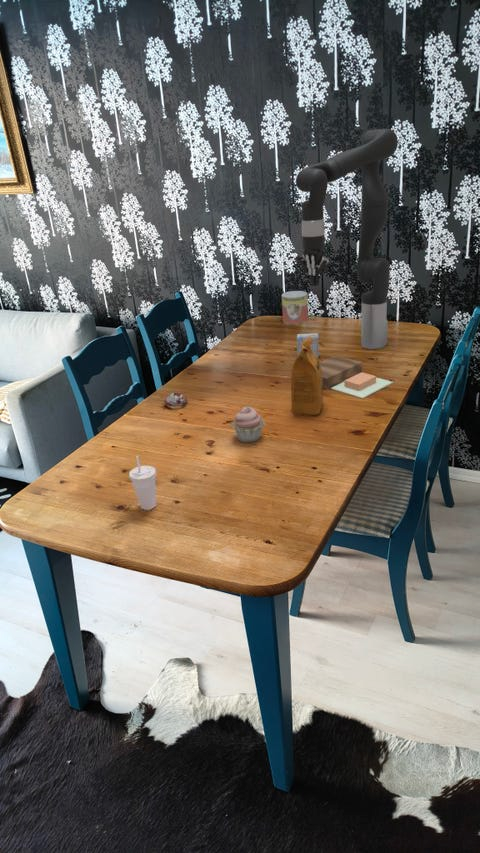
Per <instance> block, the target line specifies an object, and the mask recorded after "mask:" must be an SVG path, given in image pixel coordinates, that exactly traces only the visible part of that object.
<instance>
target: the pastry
mask: <svg viewBox="0 0 480 853" xmlns="http://www.w3.org/2000/svg"><path fill="white" fill-rule="evenodd" d="M164 405H165V407H166V408H167V409H169V410H179V409H183V408H184V407H187V405H188V399H187V398H186V397H185V396H184V395H183V394H182V393H181V392H179V391H176V390H175V391H173V393H171V394H170V395H168V396H166V397H165V399H164Z"/></svg>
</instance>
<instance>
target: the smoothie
mask: <svg viewBox="0 0 480 853" xmlns="http://www.w3.org/2000/svg"><path fill="white" fill-rule="evenodd" d="M135 458H136V459H135V460H136V464H137V466H136V467H134V468H132V469H131V470H130V471H129V473H128V474H129V475H128V476H129V480H130V481H131V483H132V486H133V488H134V492H135V496H136V498H137V500H138V503H139V506H140V509H141V508H142V509H145V510H147V509H152V508H154V507H155V506H156V507H157V490H156V487H157V486H156V476H157V471H156V470H157V469H156V468H155V467H154V466H151V465H141V464H140V463H141V462H140V459H139V455H136V456H135ZM156 507H155V508H156ZM155 508H154V509H155ZM142 509H141V510H142ZM145 510H144V511H145ZM152 510H153V509H152Z"/></svg>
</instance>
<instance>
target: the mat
mask: <svg viewBox="0 0 480 853" xmlns="http://www.w3.org/2000/svg"><path fill="white" fill-rule="evenodd" d="M393 382H394V381H392V380H391V381H390V380H387V379H384V378H379V377H377V376H376V383H374V384H372V385H370V386H368V387H366V388H364V389H362V390H360V391H357V390H354V389H351V388H347V387H345V386H344V382H342V383H340V384H338V385H336V386H334V387H332V388H330V390H333V391H336V392H339V393H342V394H346V395H349V396H352V397H355V398H358V399H361V400H362V399H366V398H367V397H369V396H371V395H373V394H374V393H377V392H379V391H380V390H382V389H384V388H387V387H388V386H391V385H392V384H393Z"/></svg>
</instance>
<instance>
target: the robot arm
mask: <svg viewBox="0 0 480 853" xmlns="http://www.w3.org/2000/svg"><path fill="white" fill-rule="evenodd" d="M398 140H399V139H398V136H397V133H396V132H395V131H394V130H392V129H389V128H378V129H369V130H367V131H365V133H364V134H363V136H362V137H361V143H360V146H358V147H355V148H351V149H348V150H344V151H342V152H339V153H338V154H335V155H333V156H331V157H329V158H326V159H325V160H324V161H321V162H319V163H315V164H313V165H308V166H307V167H304V168H303V169H301V170H300V171H299V172H298V173H297V175H296V177H295V185H296V187H297V189H298V190H299V191H301V192H304V193H309V195H308V199H307V200H305V201H303V202H302V203H301V245H302V246H301V247H302V249H303V251H302V255H301V256H298V258H297V260H298V261H299V263H300V265H301V267H302V268H303V270H304V272H305V273H308V275H309V284H310V286H311V287H318V286H319V284H320V274H321V275H322V274H323V273H324V272H325V271H326V269H327V268H328V266H329V264H330V263H331V259H330V258H327V257H326V255H325V254H326V253H325V251H324V249H325V247H326V242H325V241H326V240H325V239H326V235H325V234H326V233H325V232H326V231H325V228H326V227H325V221H324V204H325V200H326V195H327V190H328V183H332V182H335V181H338V180H339V179H341V178H343V177H345V176H347V175H348V174H350V173H351V172H354V171H356V170H358V169H360V168H361V204H360V233H359V234H360V236H359V247H358V249H359V250H358V255H357V265H356V277H357V279H358V281H359V282H360V283H361V282H362V283H365V284H373V285H372V289H371V290H370V291H366V292H364V293H362V294H361V307H360V308H361V311H360V313H361V326H360V327H361V333H360V334H361V337H360V338H361V344H360V346H361V347H362V348H364V349H368V350H379V349H383V348H385V347H386V345H387V344H388V321H389V320H388V319H387V312H388V311H387V308H388V307H387V304H388V294H389V289H390V277H391V276H390V275H391V273H390V272H391V267H390V262H389V260H388V259H386V258H382V257H373V256H374V255H373V254H374V246H375V243H376V240H377V238H378V237H379V235H380V233H381V231H382V230H383V229H384V227H385V225H386V223H387V220H388V211H389V198H388V195H387V191H386V189H385V187H384V185H383V182H382V180H381V175H380V165H379V164H380V160H385V159H388V158H390V157H392V156H393V155H394V154H395V153H396V151H397V148H398V146H399V141H398Z"/></svg>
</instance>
